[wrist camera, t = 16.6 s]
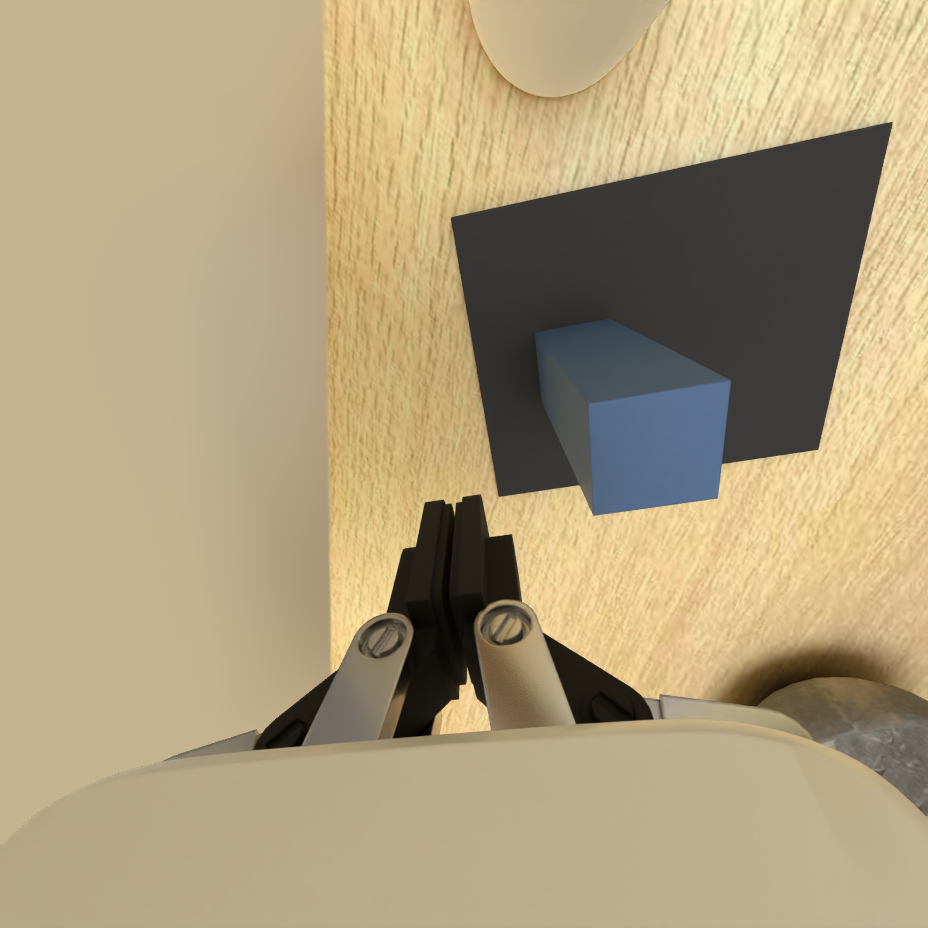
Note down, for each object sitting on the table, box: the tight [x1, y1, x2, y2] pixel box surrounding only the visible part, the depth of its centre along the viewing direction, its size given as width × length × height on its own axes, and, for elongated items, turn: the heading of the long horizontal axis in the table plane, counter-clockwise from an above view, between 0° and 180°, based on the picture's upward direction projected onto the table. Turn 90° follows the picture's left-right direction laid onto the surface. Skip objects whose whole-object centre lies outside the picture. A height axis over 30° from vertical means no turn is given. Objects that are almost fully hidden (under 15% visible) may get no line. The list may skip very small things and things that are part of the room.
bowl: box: [757, 676, 928, 816], centre depth 38 cm, size 18×18×8 cm
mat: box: [451, 122, 892, 497], centre depth 26 cm, size 22×18×1 cm
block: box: [535, 318, 731, 516], centre depth 20 cm, size 4×4×13 cm
